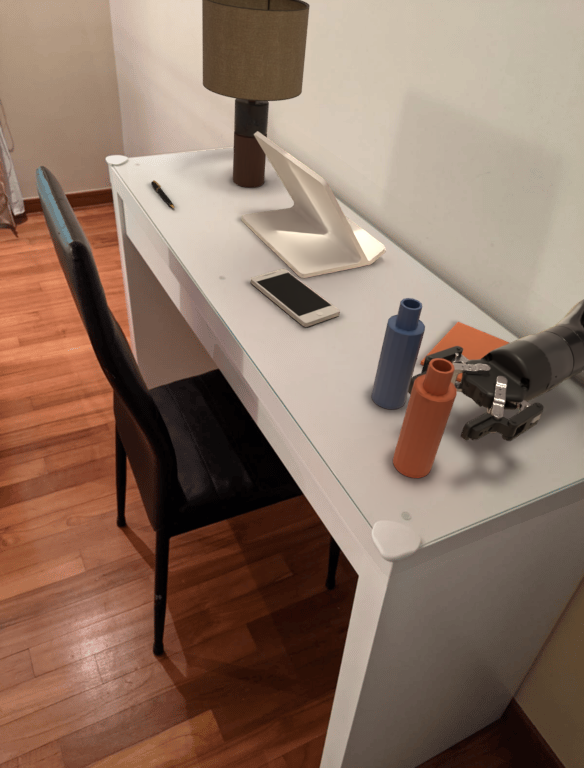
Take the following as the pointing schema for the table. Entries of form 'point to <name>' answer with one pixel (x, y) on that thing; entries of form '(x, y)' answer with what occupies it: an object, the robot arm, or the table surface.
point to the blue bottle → (398, 355)
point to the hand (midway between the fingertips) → (437, 410)
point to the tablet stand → (310, 222)
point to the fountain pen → (161, 193)
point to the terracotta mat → (468, 343)
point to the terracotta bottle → (425, 419)
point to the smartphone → (295, 297)
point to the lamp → (253, 68)
